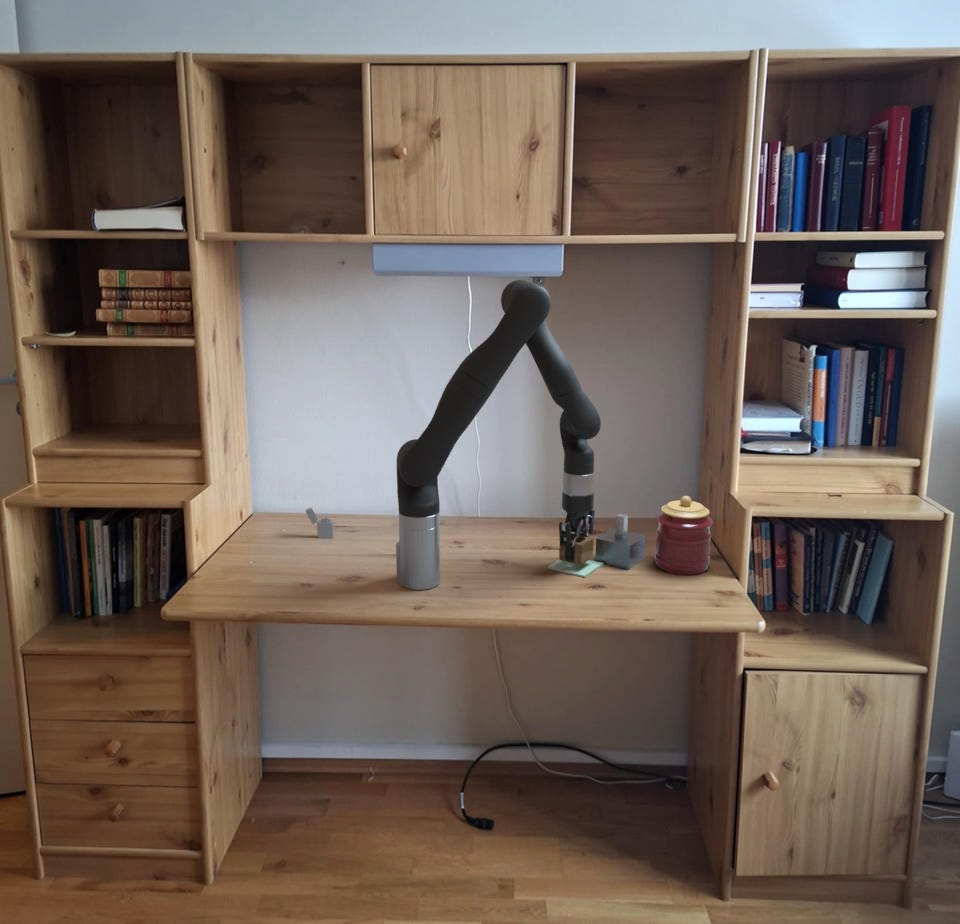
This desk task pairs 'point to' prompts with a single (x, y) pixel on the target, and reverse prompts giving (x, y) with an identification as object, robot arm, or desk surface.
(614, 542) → the block
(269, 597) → the desk surface
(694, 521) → the canister
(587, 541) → the hollow wooden block
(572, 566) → the mat
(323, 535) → the lighter
